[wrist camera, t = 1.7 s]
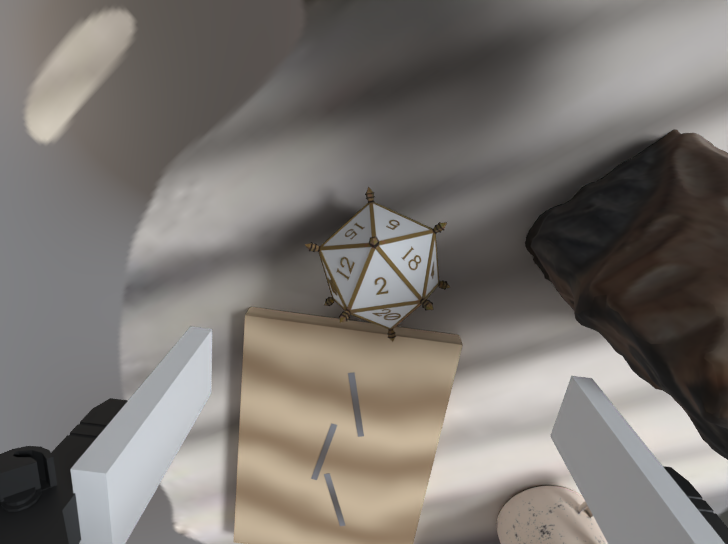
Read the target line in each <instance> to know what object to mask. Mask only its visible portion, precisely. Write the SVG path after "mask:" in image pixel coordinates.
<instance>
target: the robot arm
mask: <svg viewBox="0 0 728 544" xmlns="http://www.w3.org/2000/svg"><path fill="white" fill-rule="evenodd" d="M211 378H212V329H207V328H200V327H192V326H191V327H190V328H189V329H188V330H187V331H186V333H185V334H184V335H183V336H182V337H181V339H180V340H179V341H178V342H177V343H176V345H175V346H174V347H173V348H172V349H171V350H170V352H169V353H168V354H167V355H166V356H165V358H164V359H163V360H162V361H161V362H160V364H159V365H158V366H157V367H156V368H155V369H154V371H153V372H152V373H151V374H150V375H149V377H148V378H147V379H146V380H145V381H144V383H143V384H142V385H141V386H140V387H139V388H138V390H137V391H136V392H135V393H134V394H133V396H132V397H131V398H130V399H129V400H128V401H127V400H118V399H108V400H107V401H105V402H104V403H102V404H100V405H98V406H97V407H95V408H93V409H92V410H91V411H90V412H89V413H88V414H87V415H86V416H85V417H84V419H83V420H82V421H81V422H80V424H79V425H77V426H76V427H75V428H74V429H73V430H72V431H71V432H70V435H69V436H67V437H66V438H65V439H64V440H63V441H62V442H61V443H60V444H59V445H58V446H57V447H56V448H55V450H53V452H52V453H50V451H49V450H47V449H44V448H42V447H36V446H26V447H21V448H16V449H12V450H9V451H7V452H4V453H2V454H0V544H79V542H80V544H125V543H126V541H127V540H128V538H129V536H130V534H131V532H132V531H133V529H134V527H135V526H136V524H137V522H138V520H139V519H140V516H141V515H142V513H143V512H144V510H145V508H146V506H147V505H148V503H149V501H150V499H151V498H152V496H153V494H154V492H155V491H156V489H157V487H158V485H159V484H160V482H161V480H162V478H163V477H164V475H165V473H166V471H167V470H168V468H169V466H170V464H171V463H172V461H173V459H174V457H175V456H176V454H177V452H178V450H179V449H180V447H181V445H182V444H183V442H184V440H185V438H186V437H187V435H188V433H189V431H190V430H191V428H192V426H193V424H194V423H195V421H196V419H197V417H198V416H199V414H200V412H201V410H202V409H203V407H204V405H205V403H206V402H207V400H208V398H209V396H210V395H211ZM551 438H552V440H553V442H554V444H555V446H556V448H557V449H558V451H559V453H560V455H561V457H562V459H563V461H564V462H565V464H566V466H567V468H568V470H569V472H570V474H571V475H572V477H573V479H574V481H575V483H576V485H577V487H578V489H579V490H580V492H581V494H582V496H583V498H584V500H585V502H586V503H587V505H588V507H589V509H590V511H591V513H592V515H593V516H594V518H595V520H596V522H597V524H598V526H599V528H600V530H601V531H602V533H603V535H604V537H605V539H606V541H607V543H608V544H728V528H727V526H726V525H725V524H724V523H723V522H722V520H721V519H720V518H719V517H718V516H717V514H714V513H713V510H712V508H711V507H710V506H709V505H708V504H707V503H706V501H704V500H702V497H701V495H700V494H699V493H698V492H697V491H696V489H695V488H694V487H693V486H692V485H691V484H690V482H689V481H687V480H686V479H685V478H684V477H682V476H681V475H680V474H679V473H677V472H676V471H675V470H674V469H672V468H671V467H664V466H662V465H661V463H660V462H659V461H658V460H657V458H656V457H655V456H654V455H653V453H652V452H651V451H650V450H649V449H648V447H647V446H646V445H645V444H644V442H643V441H642V440H641V439H640V437H639V436H638V435H637V434H636V432H635V431H634V430H633V429H632V427H631V426H630V425H629V424H628V422H627V421H626V420H625V419H624V417H623V416H622V415H621V414H620V413H619V411H618V410H617V409H616V408H615V406H614V405H613V404H612V403H611V401H610V400H609V399H608V398H607V396H606V395H605V394H604V393H603V391H602V390H601V389H600V388H599V386H598V385H597V384H596V383H595V381H594V380H593V379H592V378H585V377H577V376H571V379H570V382H569V385H568V387H567V390H566V393H565V396H564V399H563V402H562V404H561V407H560V410H559V413H558V416H557V419H556V421H555V424H554V427H553V430H552V433H551Z"/></svg>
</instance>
